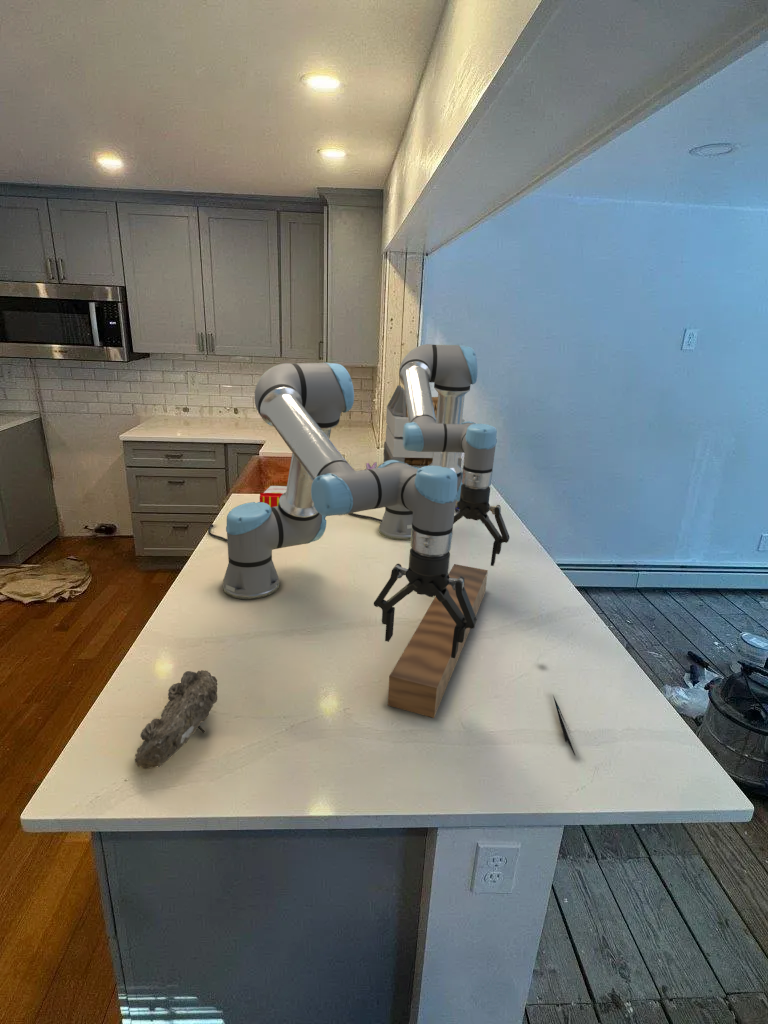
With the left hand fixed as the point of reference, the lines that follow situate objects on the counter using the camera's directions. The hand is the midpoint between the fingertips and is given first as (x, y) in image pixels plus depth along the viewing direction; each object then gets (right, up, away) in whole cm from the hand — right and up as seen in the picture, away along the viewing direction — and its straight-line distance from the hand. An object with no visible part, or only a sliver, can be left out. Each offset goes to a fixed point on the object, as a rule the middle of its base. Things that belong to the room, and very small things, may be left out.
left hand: (421, 646), depth 113 cm
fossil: (-44, -14, -9) cm, 47 cm away
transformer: (+10, +46, +162) cm, 168 cm away
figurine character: (+23, +28, +116) cm, 121 cm away
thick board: (+7, -4, +24) cm, 25 cm away
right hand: (+15, +14, +41) cm, 46 cm away
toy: (-46, +24, +96) cm, 109 cm away
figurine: (-12, +33, +123) cm, 128 cm away
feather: (+27, -13, +2) cm, 31 cm away
